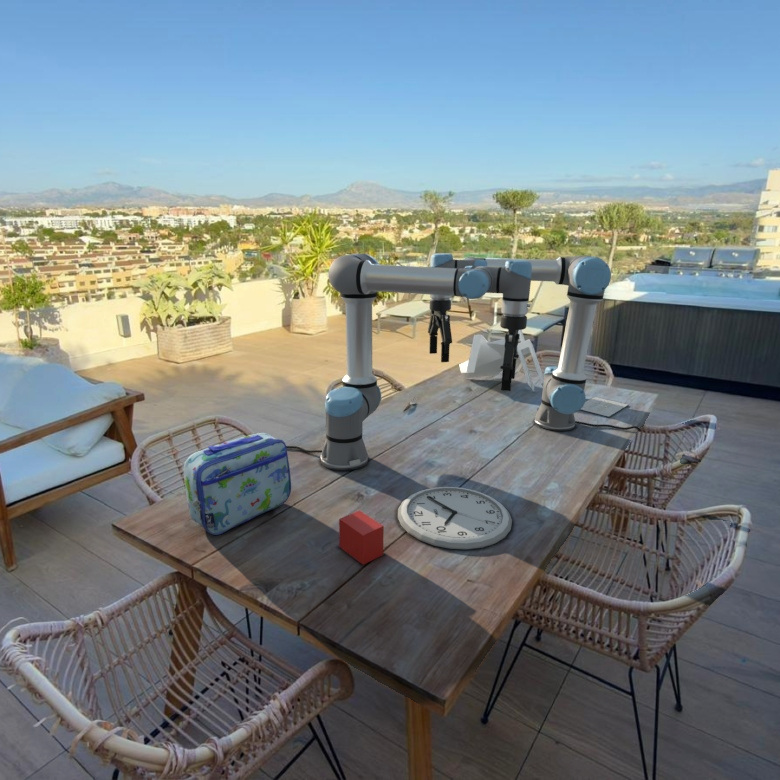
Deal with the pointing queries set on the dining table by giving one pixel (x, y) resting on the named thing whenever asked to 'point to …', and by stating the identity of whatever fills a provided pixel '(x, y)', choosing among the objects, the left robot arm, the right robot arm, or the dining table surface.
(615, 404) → the invitation card
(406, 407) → the fork
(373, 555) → the block
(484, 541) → the wall clock
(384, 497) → the dining table surface
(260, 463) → the lunch box
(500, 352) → the white plastic object
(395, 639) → the dining table surface
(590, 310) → the right robot arm
